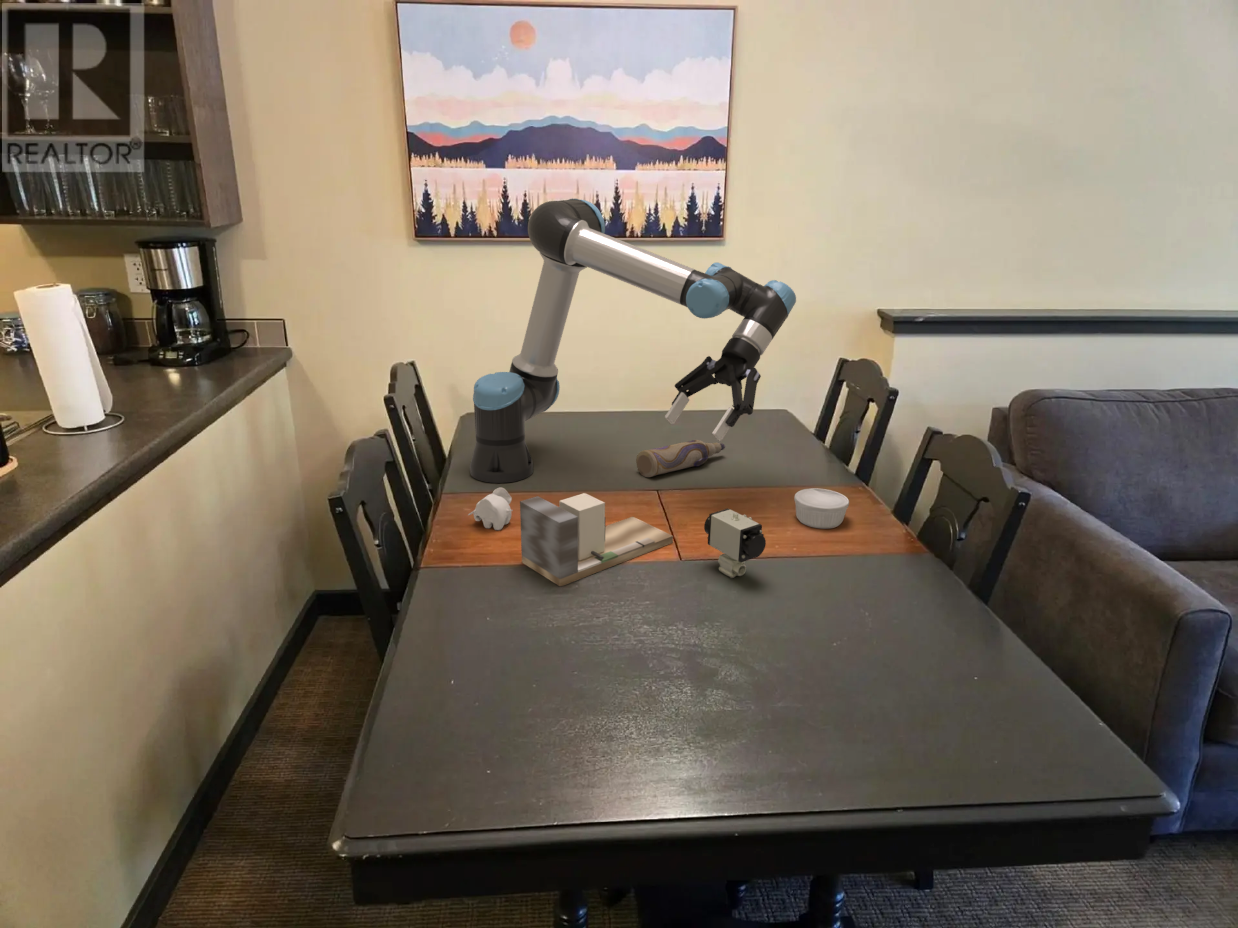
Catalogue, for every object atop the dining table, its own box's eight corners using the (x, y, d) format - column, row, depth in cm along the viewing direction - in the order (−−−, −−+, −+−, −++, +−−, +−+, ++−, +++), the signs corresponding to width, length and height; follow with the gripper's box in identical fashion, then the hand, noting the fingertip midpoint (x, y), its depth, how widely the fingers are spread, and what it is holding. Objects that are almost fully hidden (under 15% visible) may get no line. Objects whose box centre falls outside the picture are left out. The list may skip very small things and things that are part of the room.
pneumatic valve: (744, 589, 144) (749, 528, 140) (701, 563, 153) (704, 505, 149) (766, 580, 147) (771, 520, 143) (722, 556, 156) (726, 499, 152)
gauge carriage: (553, 551, 153) (552, 502, 149) (587, 539, 158) (587, 492, 154) (583, 568, 146) (583, 518, 143) (617, 555, 151) (617, 506, 148)
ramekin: (850, 515, 175) (853, 493, 173) (841, 535, 166) (844, 511, 164) (799, 506, 179) (801, 484, 178) (787, 525, 170) (789, 502, 168)
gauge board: (521, 562, 152) (519, 501, 148) (632, 522, 170) (633, 467, 165) (560, 586, 144) (559, 522, 139) (672, 542, 161) (675, 484, 157)
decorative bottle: (653, 482, 192) (653, 456, 189) (634, 473, 197) (634, 447, 195) (734, 461, 205) (735, 437, 203) (714, 453, 211) (716, 429, 209)
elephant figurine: (480, 513, 173) (479, 483, 170) (521, 520, 170) (520, 489, 167) (462, 528, 166) (460, 496, 164) (504, 535, 163) (503, 503, 161)
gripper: (800, 369, 163) (746, 454, 159) (710, 347, 181) (659, 423, 177) (786, 346, 158) (729, 434, 154) (695, 326, 175) (641, 404, 172)
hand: (691, 429), depth 165 cm, fingers open, 13 cm apart
